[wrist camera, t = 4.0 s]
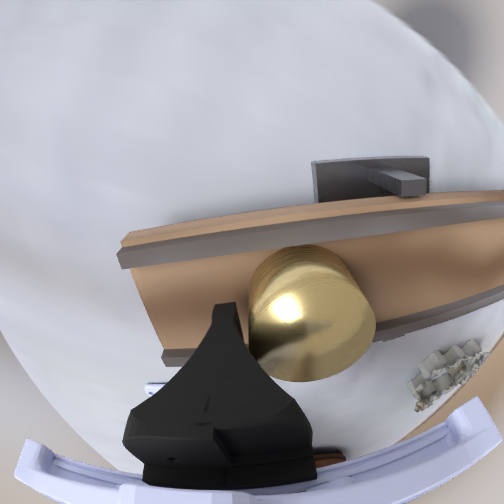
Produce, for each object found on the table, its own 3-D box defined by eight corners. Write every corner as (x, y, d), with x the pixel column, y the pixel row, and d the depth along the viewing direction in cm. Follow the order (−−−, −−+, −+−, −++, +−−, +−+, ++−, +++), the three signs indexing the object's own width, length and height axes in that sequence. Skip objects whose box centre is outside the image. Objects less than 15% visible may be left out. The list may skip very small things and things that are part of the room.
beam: (513, 279, 15) (526, 290, 13) (173, 348, 16) (167, 370, 14) (532, 190, 11) (548, 197, 10) (129, 232, 13) (114, 247, 11)
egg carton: (399, 390, 26) (411, 415, 22) (426, 347, 23) (444, 373, 19) (454, 374, 27) (467, 393, 23) (480, 334, 24) (496, 353, 20)
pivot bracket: (410, 295, 19) (437, 328, 15) (319, 316, 19) (336, 359, 15) (422, 156, 14) (466, 168, 10) (311, 161, 15) (338, 174, 11)
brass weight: (349, 319, 14) (370, 367, 11) (258, 337, 14) (261, 389, 11) (348, 235, 12) (380, 274, 8) (237, 255, 12) (234, 303, 9)
